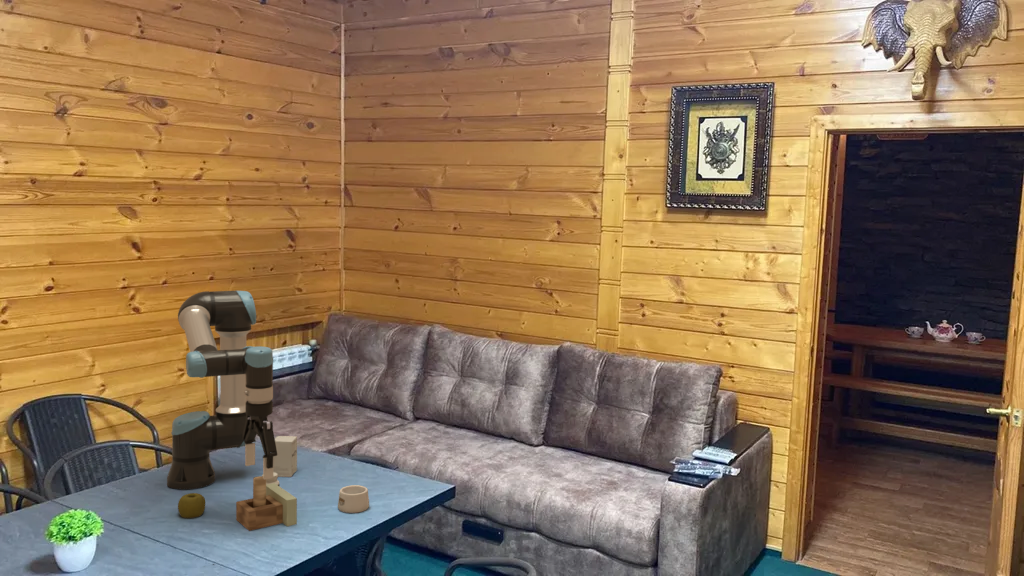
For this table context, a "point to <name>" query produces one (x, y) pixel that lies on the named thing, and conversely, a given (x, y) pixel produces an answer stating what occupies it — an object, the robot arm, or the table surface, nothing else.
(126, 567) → the table surface
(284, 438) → the supplement box
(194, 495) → the apple
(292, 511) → the board wall
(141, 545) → the table surface
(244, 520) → the block
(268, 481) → the pill bottle
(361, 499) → the beige pet bowl
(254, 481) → the dowel
